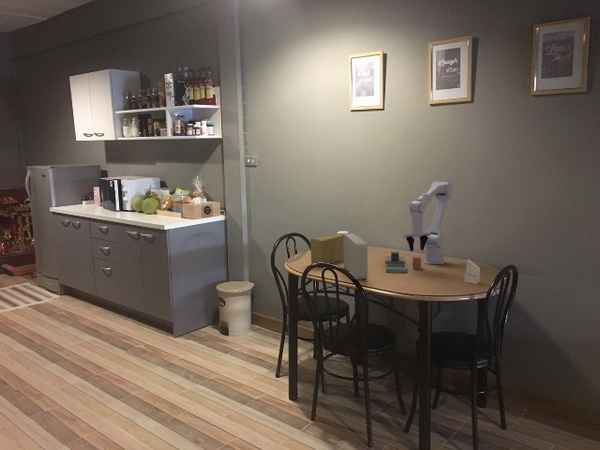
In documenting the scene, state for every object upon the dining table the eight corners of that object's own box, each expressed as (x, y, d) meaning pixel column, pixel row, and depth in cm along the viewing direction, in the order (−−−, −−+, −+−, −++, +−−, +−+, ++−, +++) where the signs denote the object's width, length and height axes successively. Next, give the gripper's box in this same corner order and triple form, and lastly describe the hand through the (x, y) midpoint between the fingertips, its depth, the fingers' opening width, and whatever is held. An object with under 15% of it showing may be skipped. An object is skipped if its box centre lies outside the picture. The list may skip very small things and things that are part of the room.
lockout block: (420, 267, 263) (420, 256, 262) (420, 269, 259) (420, 258, 258) (412, 267, 264) (412, 256, 263) (412, 269, 260) (412, 257, 259)
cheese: (341, 257, 288) (340, 232, 286) (352, 261, 280) (352, 234, 278) (310, 264, 276) (309, 237, 273) (321, 267, 268) (320, 240, 265)
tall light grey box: (372, 280, 242) (372, 243, 239) (356, 281, 241) (356, 244, 238) (357, 265, 270) (357, 232, 267) (343, 266, 269) (343, 233, 266)
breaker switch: (398, 259, 268) (398, 252, 267) (398, 260, 265) (398, 253, 264) (391, 259, 268) (391, 251, 268) (391, 260, 266) (391, 253, 265)
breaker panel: (404, 262, 275) (404, 255, 274) (404, 267, 264) (404, 260, 263) (385, 261, 276) (385, 255, 276) (385, 266, 266) (385, 260, 265)
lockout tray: (405, 267, 263) (405, 263, 263) (406, 272, 253) (406, 268, 253) (386, 267, 265) (386, 263, 264) (385, 272, 255) (385, 268, 254)
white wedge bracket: (459, 273, 241) (468, 259, 236) (476, 286, 236) (485, 272, 231) (455, 274, 238) (464, 260, 234) (472, 288, 233) (482, 274, 229)
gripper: (426, 222, 263) (425, 247, 265) (400, 224, 259) (400, 250, 262) (433, 224, 256) (432, 250, 259) (407, 226, 253) (406, 252, 255)
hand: (416, 250), depth 260 cm, fingers open, 5 cm apart
